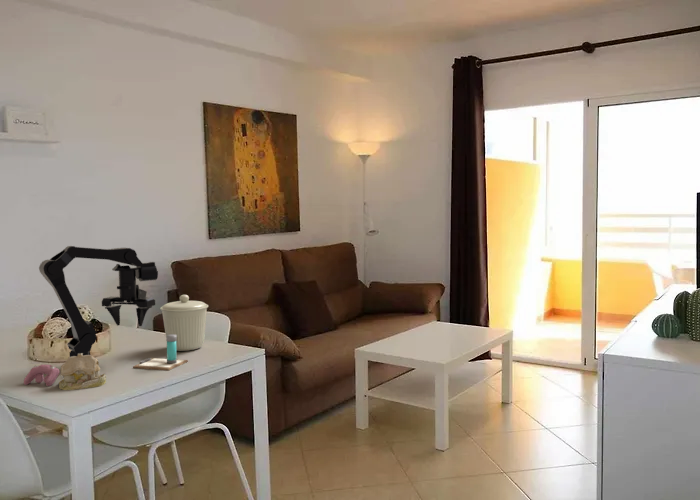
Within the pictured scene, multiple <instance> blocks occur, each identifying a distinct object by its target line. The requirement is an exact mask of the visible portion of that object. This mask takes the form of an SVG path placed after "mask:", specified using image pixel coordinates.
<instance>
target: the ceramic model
mask: <svg viewBox="0 0 700 500" xmlns="http://www.w3.org/2000/svg"><path fill="white" fill-rule="evenodd" d="M100 371H101V367H100V363H99V360H98V359H97V358H96V357H94V356H93V355H91V354H90V355H83V353H80V354H79V353H78V356H71V357H70V356H69V357H68V358H67V360H65V362H64V363H63V364H62V365H61V367H60V376H61V377H63V379H61V380H60V381H59V382H58V387H59V389H60V390H64V391H74V390H83V389H92V388H97V387H102V386H104V385H105V384H106V382H107V375H106V373H103V374H100Z"/></svg>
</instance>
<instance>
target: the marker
mask: <svg viewBox="0 0 700 500" xmlns="http://www.w3.org/2000/svg"><path fill="white" fill-rule="evenodd" d="M165 338H166V359H167V364H175V363H177V359H178V358H177V355H178V354H177V351H176V341H177V335H175V334H170V335H166V334H165Z"/></svg>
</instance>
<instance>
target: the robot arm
mask: <svg viewBox="0 0 700 500" xmlns="http://www.w3.org/2000/svg"><path fill="white" fill-rule="evenodd" d="M76 258H77V259H89V260H90V259H91V260H92V259H95V260H108V261H112V262H116V264H115V266H114V267H113V268H112V271H114V272H118V285H116V289H117V290H119V291H118V292H119V296H108V297H104V298H102V299H101V307H104V309H105V310H107V311H108V313H109V314H110V315H111V317H112V319H113V321H114V323H115V324H116V326H120V324H121V315H120V314H121V313H120V310H121V308H122V305H130V306H131V305H133V306H137V307H135V311H136V317H137V324H138V326H139V327H143V324H144V320H145V317H146V314H147V312H148V311H149V309H151V308H153V306H156V299H155V298H154V297H147V293H148V292H147V291H146V290H145V289H141V288H140V286H139V284H137V280H139V282H151V281H156V280H157V279H158V276H159V271H158V269H157V265H156V262H155V261H149V262H142V261H141V260H140V259H139V257H138V254H137V252H136V250H135V249H133V248H130V247H115V248H114V247H113V248H107V249H106V248H96V247H93V248H92V247H84V246H83V247H82V246H81V247H80V246H75V245H73V246H72V245H67V246H65V248H64V249H63V250H61V251H59V252H58V253H56V254H55V255H53V256H52V257H51V258H50V259H45V260H42V262H41V263H40V265H39V267H38V269H39V273H40V275H42V277H43V278H44V279H45V281H46V282H47V283H48V284H49V285H50V286H51V287H52V289H53V290H54V292H55V295H56V297H57V299H58V300H59V302H60V305H61V307H62V309H63V310H64V312H65V314H66V316H67V318H68V321H69V322H70V325H71V332H72V336H73V337H72V338H71V339H70V340H69V342H67V347H68V349H69V350H70V352H69V357H71V356H78V353H79V354H80V353H83V355H91V349H92V347H93V345H94V344H95V343H96V341H97V339H98V338H97V334H98V331H96V329H95V328H94V324H93V322H91V321H89V320H85V319H84V318H83V316H82V314H81V312H80V309H79V307H78V306H77V303H76V301H75V300H74V298H73V295H72V294H71V291H70V290H69V287H68V286H67V283H66V277H65V271H64V270H63V269H65V268H66V267H67V266H68V265H69V264H70V263H71V262H72V261H73V260H74V259H76ZM121 264H124V265H121ZM131 266H132V267H131ZM133 266H134V267H133Z"/></svg>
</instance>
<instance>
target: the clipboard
mask: <svg viewBox="0 0 700 500" xmlns="http://www.w3.org/2000/svg"><path fill="white" fill-rule="evenodd" d="M188 362H189V360H188V359H179V358H177V363H175V364H167V358H158V357H157V358H156V357H151V358H150V357H147V358H145V359H142V360H141V361H139V362H138V364H135V365H133V366H132V369H142V370H143V369H144V370H154V371H155V370H157V371H171V370H173V369H175V368H177V367H180V366H181V365H184V364H185V363H188Z"/></svg>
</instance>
